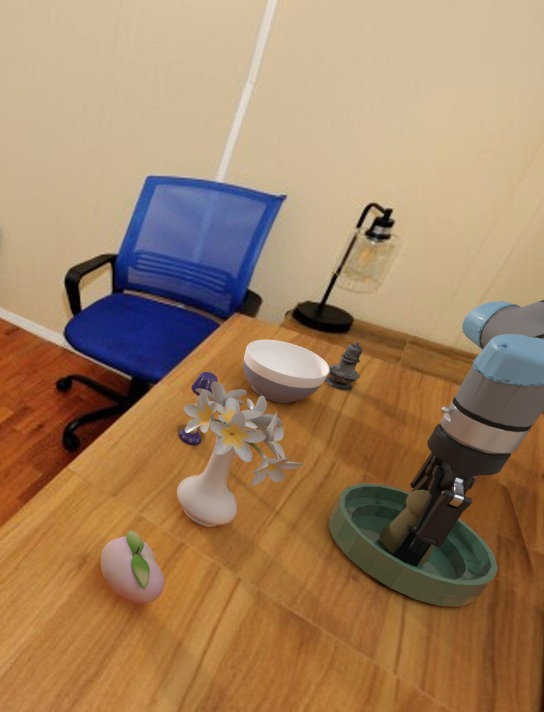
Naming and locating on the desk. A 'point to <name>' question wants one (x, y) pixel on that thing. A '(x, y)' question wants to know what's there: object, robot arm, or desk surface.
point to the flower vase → (229, 452)
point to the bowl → (283, 370)
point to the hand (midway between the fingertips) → (403, 545)
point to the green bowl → (425, 582)
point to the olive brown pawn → (406, 523)
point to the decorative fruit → (132, 569)
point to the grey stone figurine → (345, 368)
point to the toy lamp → (200, 383)
